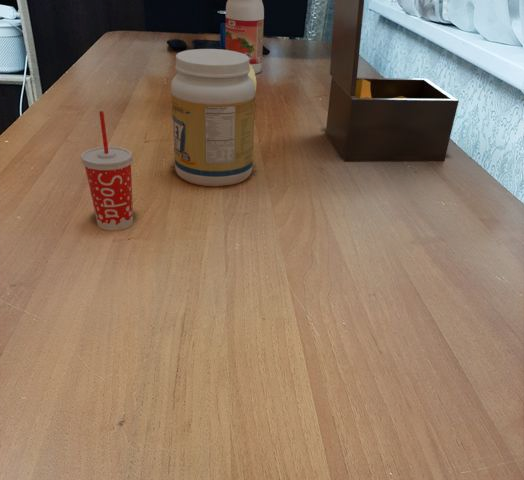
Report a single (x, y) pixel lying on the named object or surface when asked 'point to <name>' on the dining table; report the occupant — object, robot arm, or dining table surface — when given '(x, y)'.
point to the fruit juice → (246, 29)
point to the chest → (391, 121)
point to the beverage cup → (110, 183)
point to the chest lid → (346, 43)
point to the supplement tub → (213, 117)
